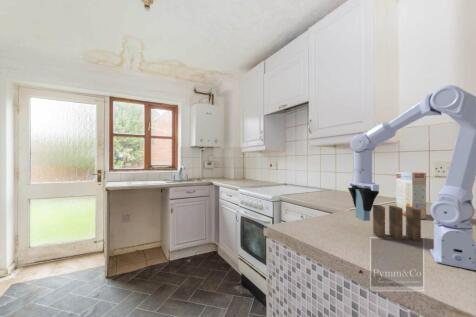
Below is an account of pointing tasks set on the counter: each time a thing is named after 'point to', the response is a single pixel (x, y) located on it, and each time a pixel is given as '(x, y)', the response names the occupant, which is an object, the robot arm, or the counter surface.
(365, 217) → the domino
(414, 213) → the domino
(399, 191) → the cracker box
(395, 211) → the domino
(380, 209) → the domino
